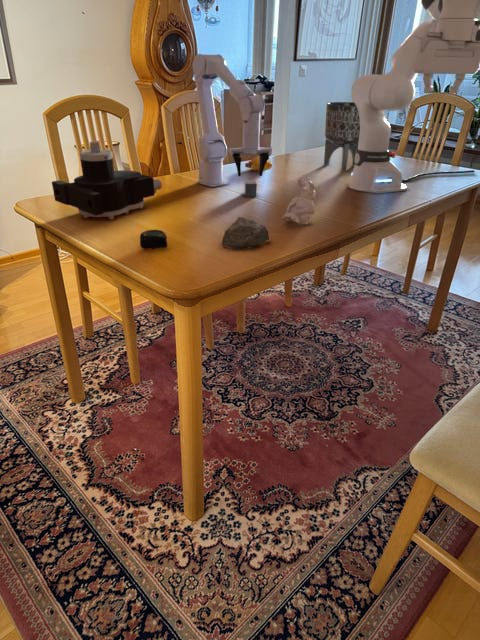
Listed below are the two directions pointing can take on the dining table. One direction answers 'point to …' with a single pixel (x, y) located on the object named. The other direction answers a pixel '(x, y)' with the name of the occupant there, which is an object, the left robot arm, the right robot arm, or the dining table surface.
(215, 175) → the left robot arm
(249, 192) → the brick
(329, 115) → the planter
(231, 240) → the rock
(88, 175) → the mechanical component
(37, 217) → the dining table surface
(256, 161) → the toy
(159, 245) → the tape measure
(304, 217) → the figurine
